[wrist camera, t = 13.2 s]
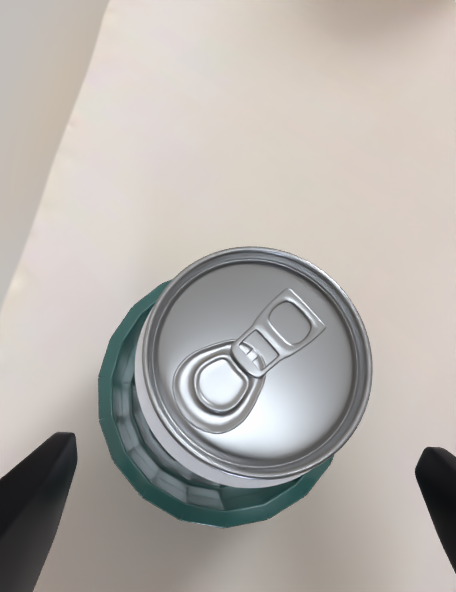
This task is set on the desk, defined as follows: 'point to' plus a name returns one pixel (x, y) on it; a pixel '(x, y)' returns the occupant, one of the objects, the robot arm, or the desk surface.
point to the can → (253, 367)
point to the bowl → (158, 462)
